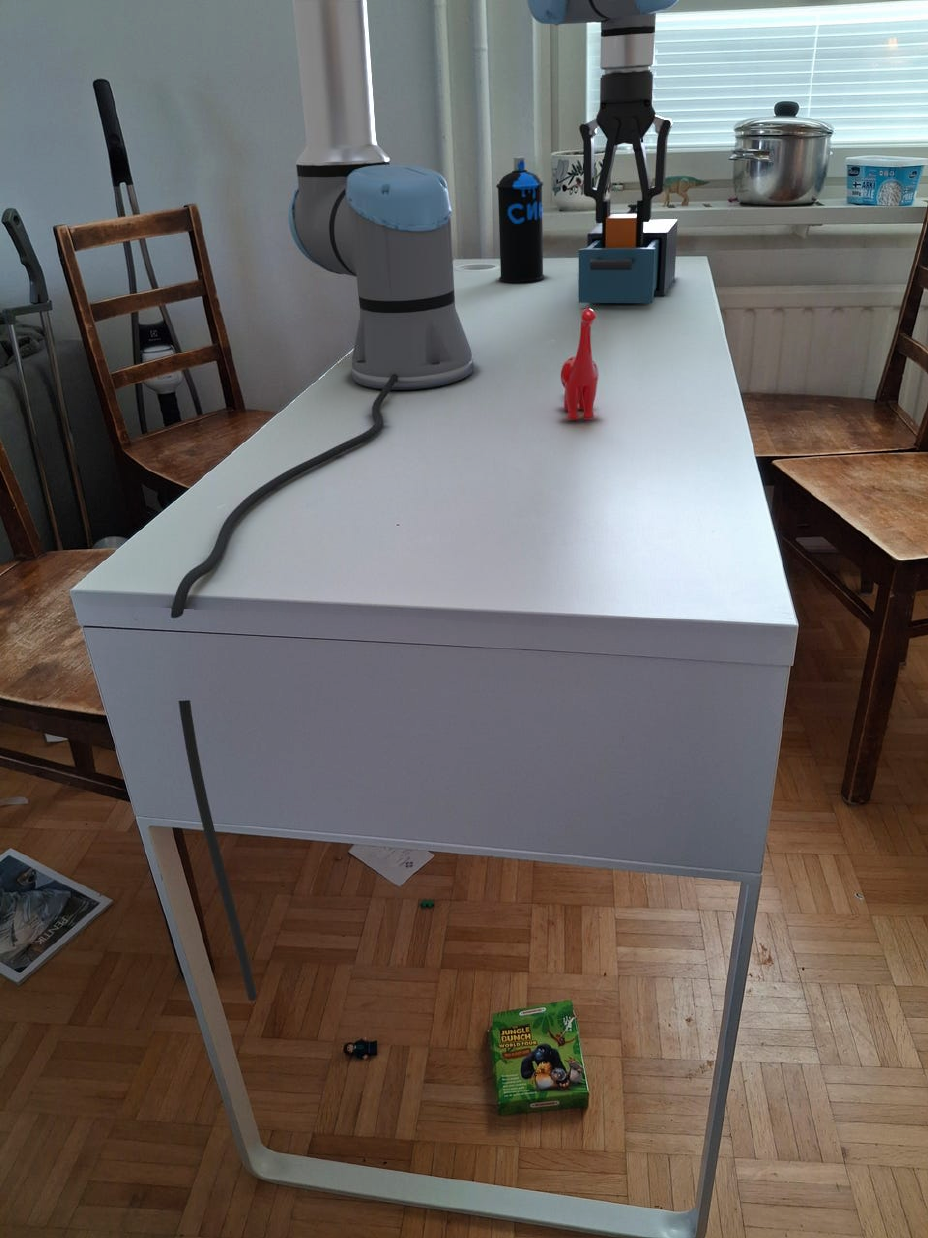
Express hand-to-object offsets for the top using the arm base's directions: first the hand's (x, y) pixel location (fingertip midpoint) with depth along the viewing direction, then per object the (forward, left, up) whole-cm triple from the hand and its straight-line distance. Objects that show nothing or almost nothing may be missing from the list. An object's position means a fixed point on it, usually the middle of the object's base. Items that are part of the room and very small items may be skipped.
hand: (622, 245), depth 144 cm
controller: (+41, +4, -9) cm, 42 cm away
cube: (0, 0, 0) cm, 0 cm away
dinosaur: (-58, -5, -9) cm, 59 cm away
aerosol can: (+19, +21, -9) cm, 29 cm away
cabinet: (+12, 0, -8) cm, 14 cm away
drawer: (-1, 0, -7) cm, 8 cm away
